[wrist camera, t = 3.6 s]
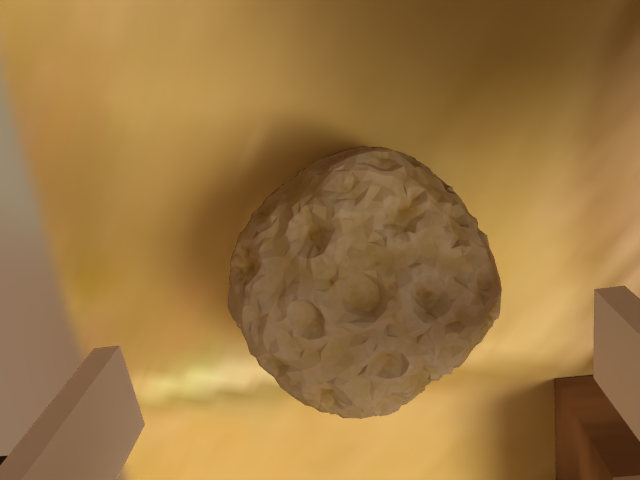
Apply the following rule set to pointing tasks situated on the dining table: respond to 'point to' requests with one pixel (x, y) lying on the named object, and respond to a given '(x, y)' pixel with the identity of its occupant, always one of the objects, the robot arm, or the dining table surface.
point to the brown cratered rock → (362, 282)
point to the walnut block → (592, 434)
